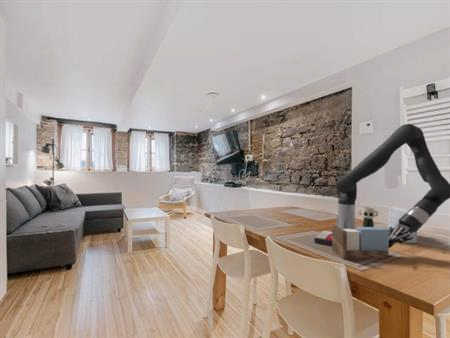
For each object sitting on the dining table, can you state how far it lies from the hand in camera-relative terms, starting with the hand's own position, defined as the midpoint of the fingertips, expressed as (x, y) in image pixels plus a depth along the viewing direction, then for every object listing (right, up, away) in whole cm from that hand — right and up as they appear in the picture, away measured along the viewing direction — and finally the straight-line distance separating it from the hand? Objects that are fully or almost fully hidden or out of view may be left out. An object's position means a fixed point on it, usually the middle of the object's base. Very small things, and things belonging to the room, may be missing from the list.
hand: (386, 246), depth 107 cm
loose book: (-7, -4, 0) cm, 8 cm away
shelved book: (-17, -4, +1) cm, 17 cm away
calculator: (-17, -4, +20) cm, 26 cm away
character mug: (+22, -4, +50) cm, 54 cm away
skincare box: (+27, -4, +27) cm, 38 cm away
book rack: (-12, -4, 0) cm, 13 cm away
